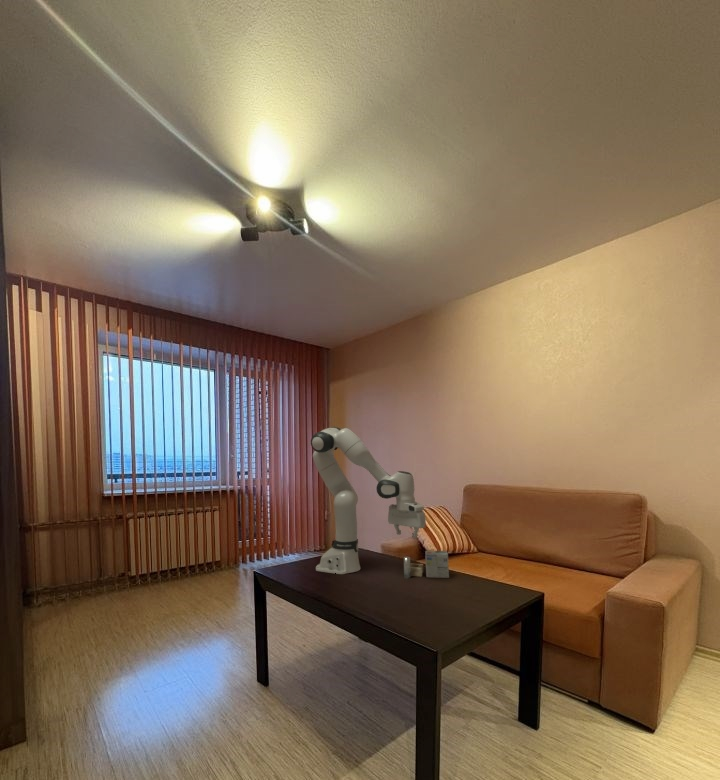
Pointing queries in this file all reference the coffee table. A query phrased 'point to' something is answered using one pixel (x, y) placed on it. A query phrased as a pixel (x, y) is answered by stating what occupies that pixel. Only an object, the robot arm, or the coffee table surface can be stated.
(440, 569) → the light bulb box
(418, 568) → the hole block
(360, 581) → the coffee table surface
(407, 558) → the peg
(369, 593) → the coffee table surface
